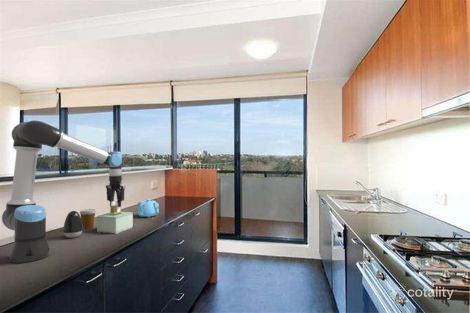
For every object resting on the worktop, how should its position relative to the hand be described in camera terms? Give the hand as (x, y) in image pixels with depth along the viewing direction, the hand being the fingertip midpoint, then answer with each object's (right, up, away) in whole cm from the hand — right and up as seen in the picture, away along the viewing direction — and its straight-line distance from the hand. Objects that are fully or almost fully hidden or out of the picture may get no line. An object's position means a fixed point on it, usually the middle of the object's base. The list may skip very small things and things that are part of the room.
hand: (115, 211), depth 177 cm
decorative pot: (+8, -12, +41) cm, 44 cm away
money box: (0, -12, 0) cm, 12 cm away
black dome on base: (-18, -12, -16) cm, 27 cm away
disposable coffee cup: (-20, -12, +4) cm, 23 cm away
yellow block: (0, -3, 0) cm, 3 cm away
